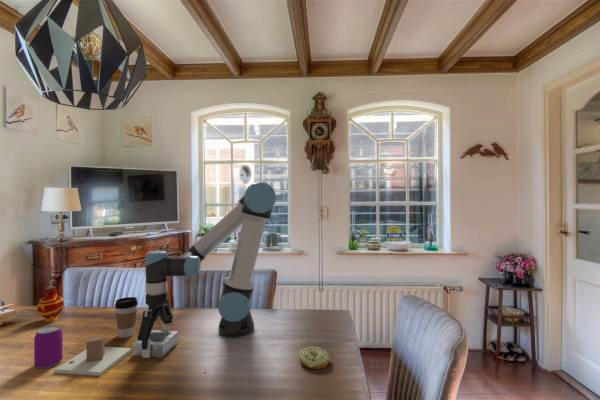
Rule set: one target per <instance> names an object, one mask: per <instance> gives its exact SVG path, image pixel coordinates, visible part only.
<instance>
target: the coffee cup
mask: <svg viewBox="0 0 600 400" xmlns="http://www.w3.org/2000/svg"><path fill="white" fill-rule="evenodd" d="M137 307H138V299H137V297H135V296H131V297H130V296H128V297H122V298H119V299H116V300H115V304H114V309H115V316H116V317H115V319H116V326H117V327H116V329H117V337H119V338H120V339H126V338H130V337H132V336H134V335H135V331H136V329H135V328H136V321H137V319H136V318H137V312H138V308H137Z"/></svg>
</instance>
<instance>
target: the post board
mask: <svg viewBox="0 0 600 400" xmlns="http://www.w3.org/2000/svg"><path fill="white" fill-rule="evenodd" d="M130 353H133V347H132V348H131V347H116V346H115V347H114V346H105V334H98V335H92V336H88V338H87V341H86V349H84V350H83V351H81V352H80V353H78V354H76V355H75V356H74V357H72V358H70V359H69V360H67V361H65V362H64V363H62V364H60V365H59V366H57V367H56V368H54V373H55V374H68V375H81V376H97V377H101V376H102V375H103V374H105V373H106V372H108V371H109V370H110V369H111V368H113V367H114V366H116V364H118V363H119V362H120V361H122V360H123V359H124V358H125V357H127V356H128V355H129V354H130Z"/></svg>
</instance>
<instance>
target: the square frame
mask: <svg viewBox="0 0 600 400" xmlns="http://www.w3.org/2000/svg"><path fill="white" fill-rule="evenodd" d="M149 339H150V358H151V357H152V358H164V357H165V356H166V355H167V354H168V353H169V352H170V351H171V350H172V349H173V348H174V347H175V346H176V345H178V344H179V331H177V330H169V331H163V330H162V329H161V330H159V329H157V330H156V329H152V331H151V334H150V336H149ZM132 356H136V357H137V356H138V357H142V341H138V340H135V341H134V342H132Z"/></svg>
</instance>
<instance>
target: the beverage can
mask: <svg viewBox="0 0 600 400" xmlns="http://www.w3.org/2000/svg"><path fill="white" fill-rule="evenodd" d="M63 334H64V333H63V331H62V328H61V327H60V325H56V324H55V325H47V326H44V327H41V328H38V330H37V331H36V333H35V335H34V338H33V341H34V343H33V350H34V353H33V354H34V355H33V356H34V359H33V361H34V367H36V368H38V369H47V368H52V367H54V366H56V365H58V364H59V363H60V362H61V361H62V360H63V359H64V358H63V356H64V353H63V352H64V351H63V350H64V349H63V346H64V345H63V340H64V339H63Z"/></svg>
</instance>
